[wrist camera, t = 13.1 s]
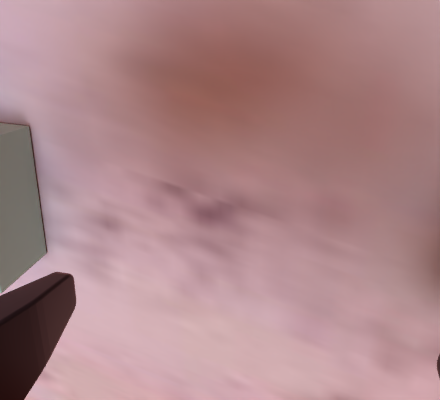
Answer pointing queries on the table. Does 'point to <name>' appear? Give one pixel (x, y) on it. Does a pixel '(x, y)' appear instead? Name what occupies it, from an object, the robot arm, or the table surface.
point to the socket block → (18, 206)
